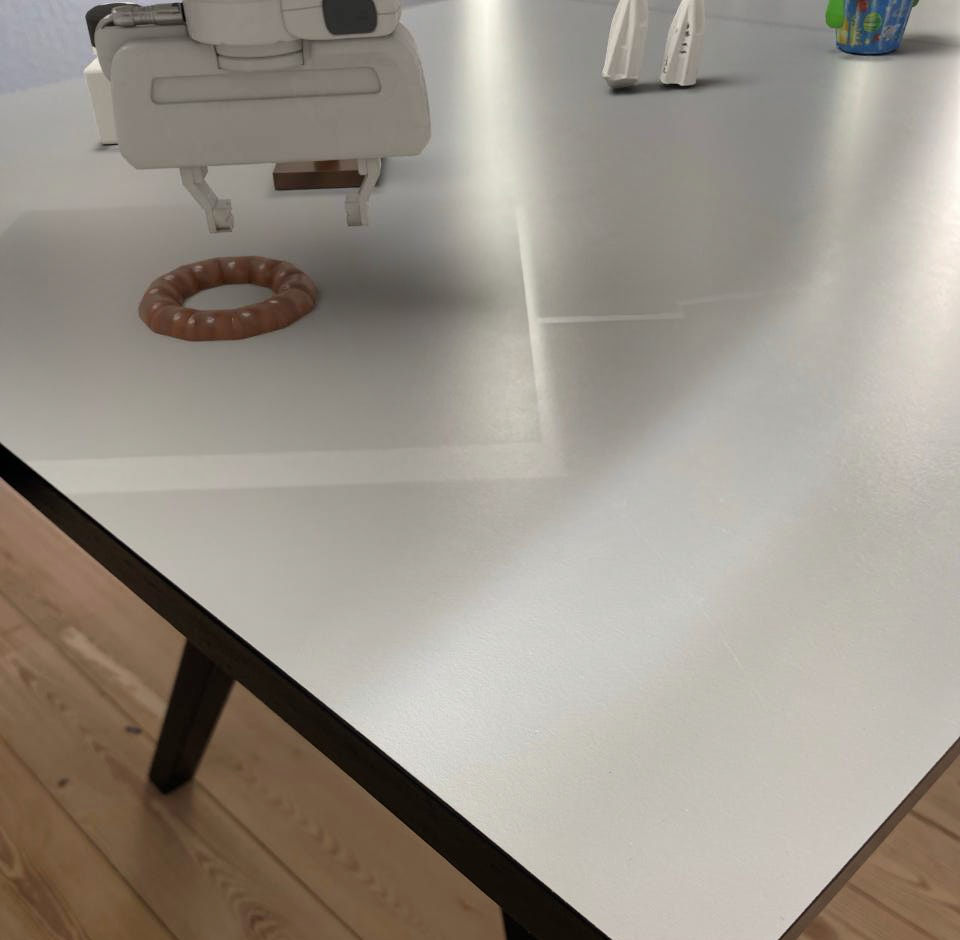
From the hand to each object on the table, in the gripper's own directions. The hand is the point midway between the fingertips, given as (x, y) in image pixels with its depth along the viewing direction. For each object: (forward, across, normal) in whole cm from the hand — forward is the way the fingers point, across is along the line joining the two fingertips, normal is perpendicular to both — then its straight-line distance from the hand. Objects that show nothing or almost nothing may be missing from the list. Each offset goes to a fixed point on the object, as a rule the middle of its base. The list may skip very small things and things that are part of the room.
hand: (290, 226), depth 77 cm
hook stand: (+6, -1, +33) cm, 34 cm away
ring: (+5, -5, 0) cm, 7 cm away
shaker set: (+7, +33, +59) cm, 68 cm away
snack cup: (+8, +61, +73) cm, 95 cm away
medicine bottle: (+6, -22, +48) cm, 53 cm away
